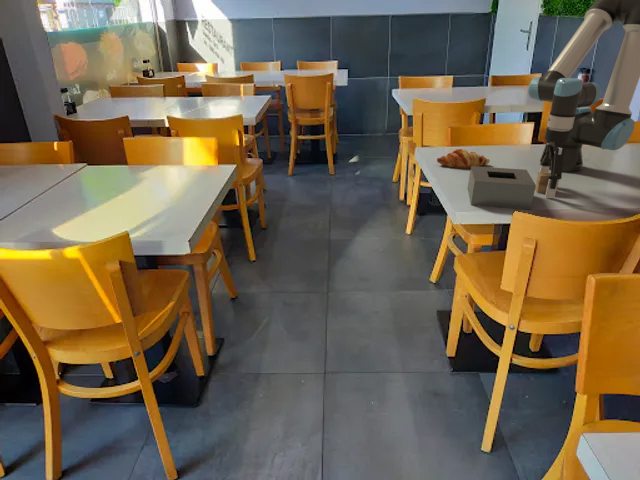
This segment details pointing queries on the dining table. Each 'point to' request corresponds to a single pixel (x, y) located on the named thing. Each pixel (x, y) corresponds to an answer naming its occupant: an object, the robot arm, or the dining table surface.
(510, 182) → the box
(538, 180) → the brown block
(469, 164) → the croissant
